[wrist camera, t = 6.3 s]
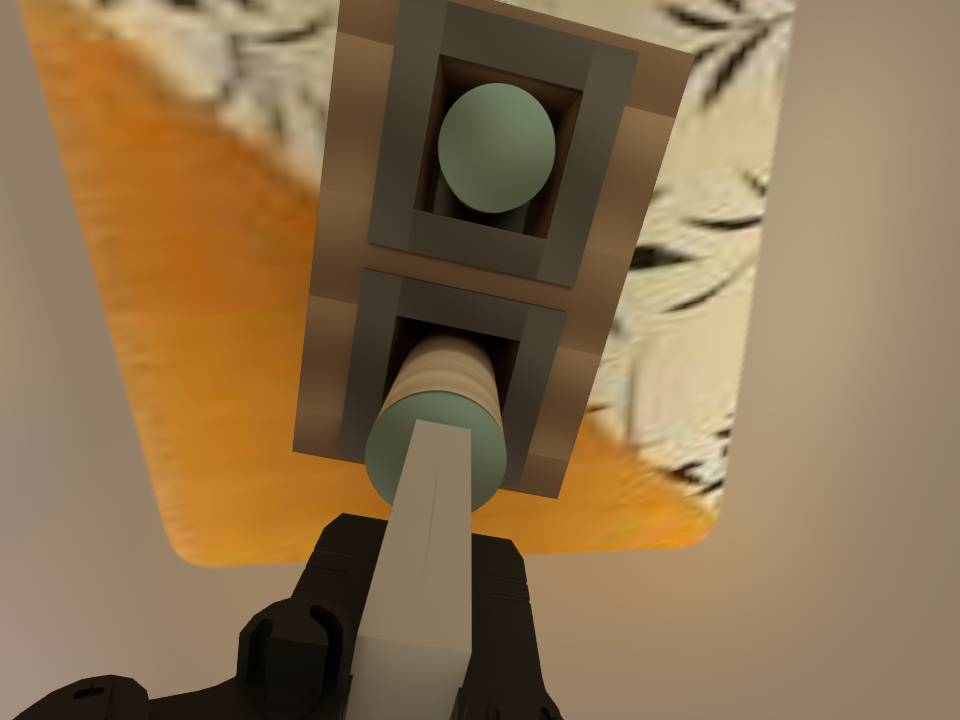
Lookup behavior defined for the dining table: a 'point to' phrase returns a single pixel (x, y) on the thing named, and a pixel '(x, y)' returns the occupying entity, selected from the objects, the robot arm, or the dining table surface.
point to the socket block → (469, 246)
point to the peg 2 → (496, 148)
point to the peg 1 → (441, 410)
